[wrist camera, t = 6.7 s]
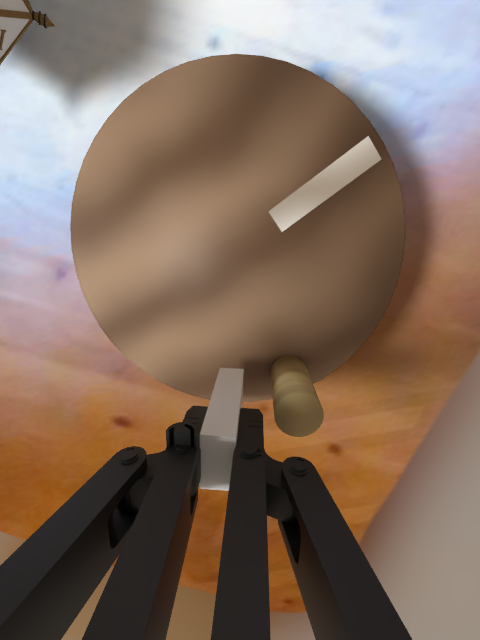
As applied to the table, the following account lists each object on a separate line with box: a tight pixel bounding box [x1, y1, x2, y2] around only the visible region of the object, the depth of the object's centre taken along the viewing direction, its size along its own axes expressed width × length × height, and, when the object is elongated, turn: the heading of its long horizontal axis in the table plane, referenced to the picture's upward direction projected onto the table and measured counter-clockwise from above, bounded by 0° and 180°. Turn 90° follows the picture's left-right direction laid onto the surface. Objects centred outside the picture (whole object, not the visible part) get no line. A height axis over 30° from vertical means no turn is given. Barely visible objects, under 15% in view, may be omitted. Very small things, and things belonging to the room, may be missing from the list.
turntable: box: [70, 54, 405, 437], centre depth 16 cm, size 20×20×7 cm
